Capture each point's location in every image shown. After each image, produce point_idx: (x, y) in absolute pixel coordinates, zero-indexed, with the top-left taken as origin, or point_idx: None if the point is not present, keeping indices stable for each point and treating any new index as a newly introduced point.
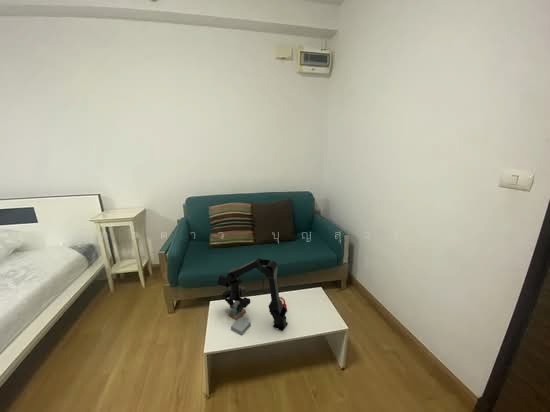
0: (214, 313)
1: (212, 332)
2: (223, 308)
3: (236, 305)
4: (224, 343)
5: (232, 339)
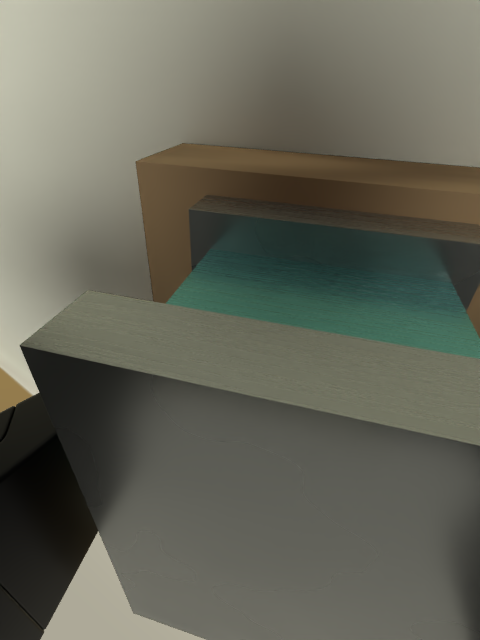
0: (18, 368)
1: None
2: (3, 253)
3: (323, 626)
4: None
5: None
